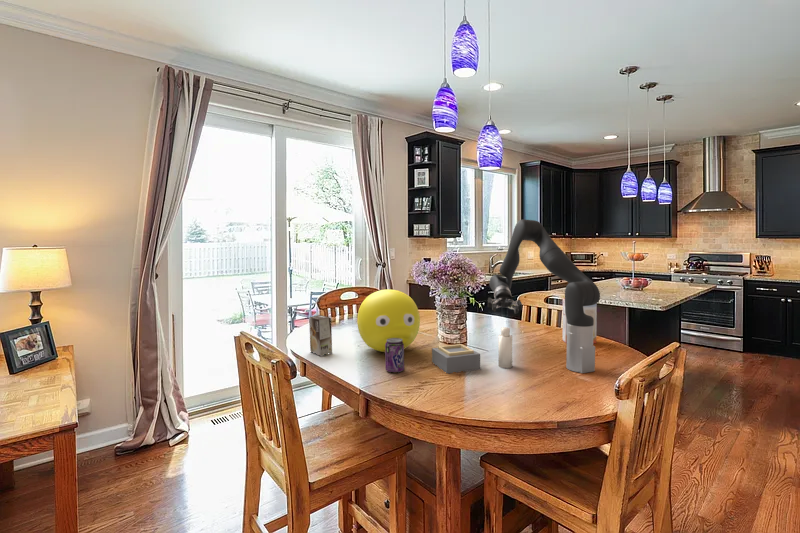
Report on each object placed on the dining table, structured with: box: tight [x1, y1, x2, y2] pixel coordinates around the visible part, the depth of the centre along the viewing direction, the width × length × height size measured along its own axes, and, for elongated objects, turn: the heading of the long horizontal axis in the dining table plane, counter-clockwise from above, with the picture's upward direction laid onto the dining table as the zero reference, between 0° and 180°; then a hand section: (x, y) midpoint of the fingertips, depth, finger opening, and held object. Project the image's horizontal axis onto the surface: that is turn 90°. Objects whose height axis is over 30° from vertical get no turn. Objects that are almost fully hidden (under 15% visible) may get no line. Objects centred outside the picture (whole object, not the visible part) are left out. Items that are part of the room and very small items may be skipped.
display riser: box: [431, 343, 481, 374], centre depth 165 cm, size 14×14×7 cm
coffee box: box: [308, 314, 333, 356], centre depth 186 cm, size 9×6×16 cm
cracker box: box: [562, 297, 598, 344], centre depth 198 cm, size 14×6×21 cm, turn 84°
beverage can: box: [384, 338, 405, 373], centre depth 160 cm, size 7×7×12 cm
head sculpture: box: [356, 288, 421, 353], centre depth 187 cm, size 28×28×28 cm
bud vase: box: [498, 326, 513, 369], centre depth 164 cm, size 5×5×15 cm
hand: (505, 310), depth 176 cm, fingers open, 8 cm apart
